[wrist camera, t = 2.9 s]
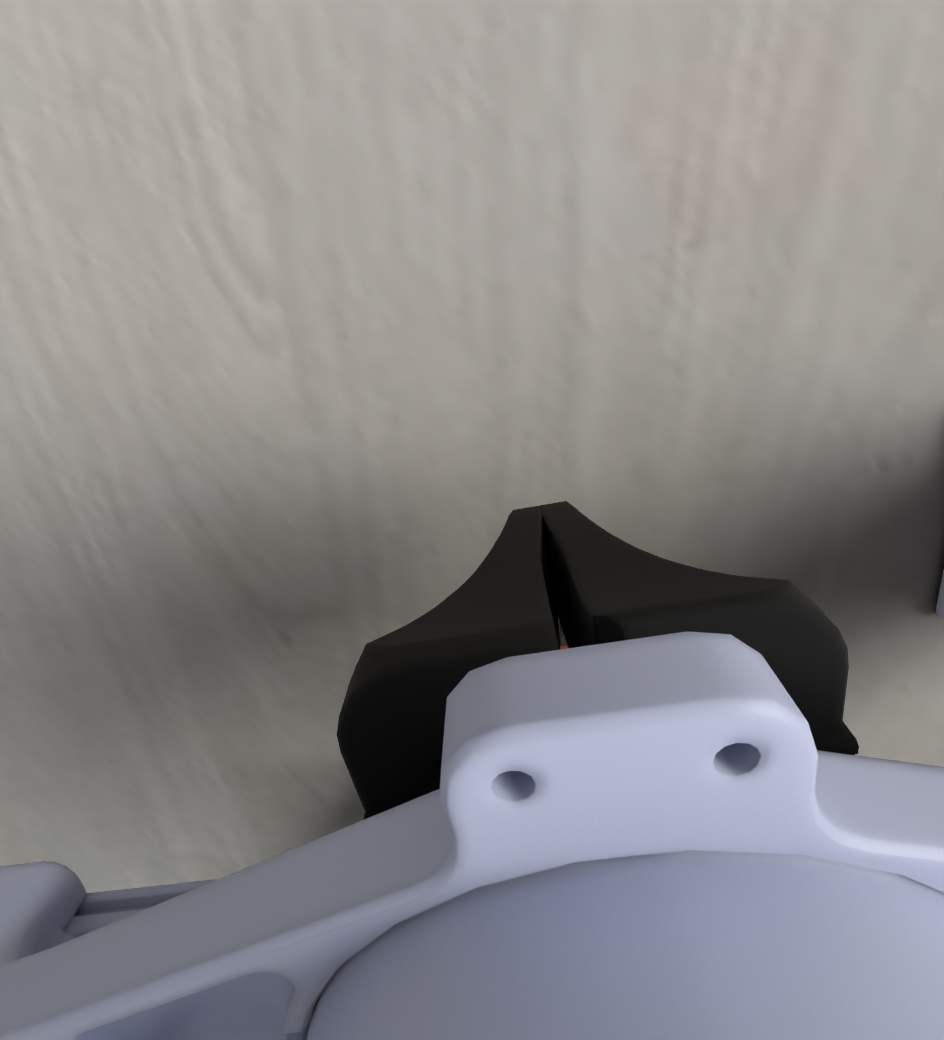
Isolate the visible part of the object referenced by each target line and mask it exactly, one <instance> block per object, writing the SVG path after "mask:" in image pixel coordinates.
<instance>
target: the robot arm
mask: <svg viewBox="0 0 944 1040" xmlns="http://www.w3.org/2000/svg"><path fill="white" fill-rule="evenodd" d="M936 613H937V614H938V615H939V617H941V618H942V619H943V620H944V570H943V575H942V580H941V586H940V591H939V596H938V601H937V607H936ZM558 618H559V621H560V624H561V627H562V630H563V633H564V636H565V640H566V643H567V646H568V649H561V650H560V638H559V624H558ZM848 668H849V667H848V651H847V646H846V644H845V642H844V640H843V638H842V635H841V633H840V631H839V629H838V628H837V627H836V626H835V625H834V624H833V623H832V622H831V621H830V620H829V619H828V618H827V617H826V615H825V614H824V613H823V612H822V611H821V610H820V609H819V608H818V607H817V606H816V604H815V603H814V602H813V601H812V600H811V599H810V598H809V597H808V596H806V595H805V594H804V593H803V592H802V591H801V590H800V589H799V588H798V587H796V586H795V585H794V584H793V583H792V582H791V581H790V580H780V579H768V578H756V577H744V576H736V575H730V574H724V573H718V572H712V571H707V570H703V569H698V568H694V567H690V566H686V565H683V564H679V563H676V562H672V561H669V560H666V559H663V558H660V557H658V556H655V555H653V554H650V553H648V552H645V551H643V550H641V549H638V548H636V547H634V546H632V545H630V544H628V543H626V542H624V541H622V540H620V539H619V538H617V537H615V536H613V535H612V534H610V533H608V532H607V531H605V530H604V529H602V528H601V527H599V526H598V525H596V524H595V523H594V522H592V521H591V520H589V519H588V518H587V517H586V516H584V515H583V514H582V513H581V512H579V511H578V510H577V509H576V508H575V507H573V506H572V505H571V504H569V503H568V502H567V501H564V502H558V503H553V504H547V505H541V506H535V507H529V508H523V509H517V510H513V511H512V512H511V513H510V515H509V517H508V519H507V522H506V524H505V526H504V528H503V530H502V532H501V534H500V536H499V538H498V539H497V541H496V543H495V544H494V546H493V548H492V549H491V551H490V552H489V554H488V555H487V557H486V558H485V559H484V561H483V562H482V563H481V565H480V566H479V568H478V569H477V570H476V571H475V573H474V574H473V575H472V576H471V577H470V578H469V579H468V580H467V581H466V582H465V583H464V584H463V585H462V586H461V587H460V588H459V589H457V590H456V591H455V592H454V593H453V594H451V595H450V596H449V597H448V598H446V599H445V600H444V601H443V602H441V603H440V604H439V605H438V606H436V607H435V608H433V609H432V610H430V611H429V612H427V613H426V614H424V615H423V616H421V617H419V618H418V619H416V620H414V621H413V622H411V623H409V624H407V625H406V626H404V627H402V628H400V629H398V630H396V631H393V632H391V633H389V634H387V635H385V636H383V637H381V638H378V639H376V640H374V641H372V642H369V643H367V644H366V645H365V648H364V650H363V653H362V655H361V657H360V659H359V661H358V663H357V665H356V667H355V670H354V672H353V675H352V678H351V680H350V683H349V686H348V690H347V693H346V696H345V699H344V703H343V706H342V709H341V712H340V716H339V722H338V730H337V738H338V742H339V746H340V751H341V754H342V756H343V759H344V761H345V764H346V766H347V769H348V771H349V774H350V776H351V778H352V781H353V783H354V786H355V788H356V791H357V793H358V795H359V798H360V800H361V803H362V805H363V808H364V810H365V816H364V820H362V821H360V822H357V823H355V824H352V825H350V826H347V827H345V828H343V829H340V830H338V831H335V832H333V833H330V834H328V835H326V836H323V837H321V838H318V839H316V840H313V841H311V842H308V843H306V844H304V845H301V846H299V847H296V848H294V849H291V850H289V851H286V852H284V853H282V854H279V855H277V856H274V857H272V858H269V859H267V860H265V861H262V862H260V863H257V864H255V865H252V866H250V867H247V868H245V869H243V870H240V871H238V872H235V873H233V874H230V875H228V876H226V877H223V878H221V879H215V880H206V881H197V882H188V883H178V884H169V885H160V886H151V887H142V888H132V889H123V890H114V891H105V892H96V893H86V890H85V888H84V886H83V884H82V882H81V881H80V879H79V878H78V876H77V875H76V874H75V873H74V872H73V871H72V870H71V869H69V868H68V867H67V866H65V865H62V864H59V863H57V862H46V861H43V862H34V863H26V864H17V865H8V866H0V1040H944V767H939V766H931V765H924V764H916V763H908V762H901V761H893V760H886V759H878V758H871V757H863V756H856V755H855V754H858V748H859V746H858V743H857V740H856V738H855V737H854V736H853V734H852V733H851V732H850V730H849V729H848V728H847V726H846V725H845V724H844V722H843V721H842V719H843V710H844V702H845V693H846V685H847V676H848Z"/></svg>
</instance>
